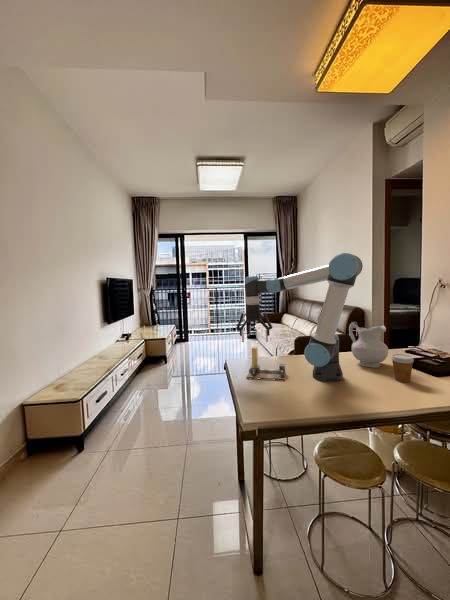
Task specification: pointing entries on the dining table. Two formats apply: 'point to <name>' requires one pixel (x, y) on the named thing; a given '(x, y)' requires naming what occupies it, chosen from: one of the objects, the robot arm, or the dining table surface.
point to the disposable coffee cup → (402, 367)
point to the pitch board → (269, 373)
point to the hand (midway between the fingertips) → (254, 341)
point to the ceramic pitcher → (368, 345)
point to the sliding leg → (254, 361)
